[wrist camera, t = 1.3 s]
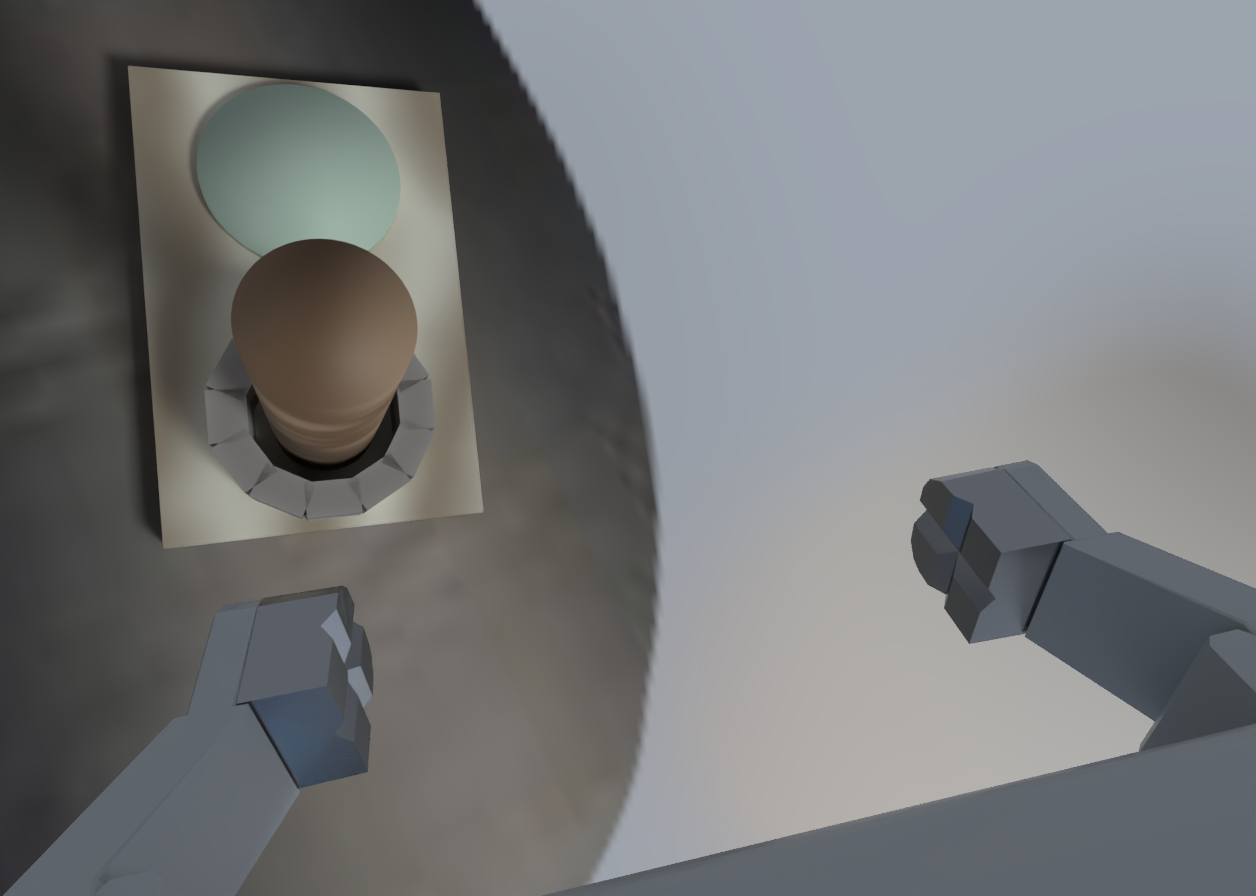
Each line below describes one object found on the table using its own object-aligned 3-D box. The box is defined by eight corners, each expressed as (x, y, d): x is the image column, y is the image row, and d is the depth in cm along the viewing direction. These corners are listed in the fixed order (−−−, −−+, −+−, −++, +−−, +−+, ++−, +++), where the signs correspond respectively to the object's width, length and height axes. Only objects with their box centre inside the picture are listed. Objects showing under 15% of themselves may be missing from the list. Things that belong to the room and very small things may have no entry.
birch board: (169, 548, 35) (143, 548, 30) (135, 83, 37) (105, 9, 32) (477, 513, 40) (500, 508, 35) (435, 107, 42) (451, 47, 37)
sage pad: (205, 268, 36) (204, 264, 35) (191, 81, 36) (189, 75, 36) (407, 269, 39) (408, 266, 38) (390, 98, 40) (391, 92, 39)
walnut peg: (277, 475, 36) (238, 414, 19) (269, 378, 36) (223, 236, 19) (379, 466, 37) (425, 403, 21) (370, 374, 38) (409, 239, 21)
